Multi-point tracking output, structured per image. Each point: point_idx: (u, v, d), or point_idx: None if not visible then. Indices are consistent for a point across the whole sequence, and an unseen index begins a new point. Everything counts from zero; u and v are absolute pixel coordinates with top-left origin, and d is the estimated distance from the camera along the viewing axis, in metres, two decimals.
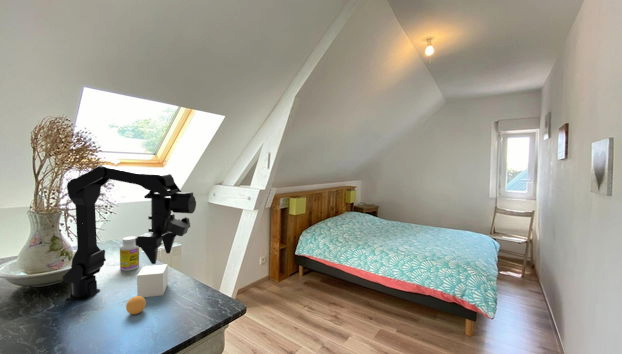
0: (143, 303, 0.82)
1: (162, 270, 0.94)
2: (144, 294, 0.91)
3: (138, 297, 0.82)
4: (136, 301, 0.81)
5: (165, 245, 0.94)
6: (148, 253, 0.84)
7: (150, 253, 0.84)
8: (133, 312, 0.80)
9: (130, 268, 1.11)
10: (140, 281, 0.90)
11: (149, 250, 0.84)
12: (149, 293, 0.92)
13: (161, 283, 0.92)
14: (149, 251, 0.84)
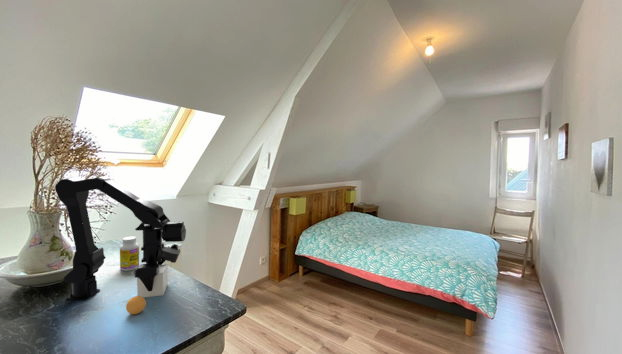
0: (143, 303, 0.82)
1: (162, 270, 0.94)
2: (144, 294, 0.91)
3: (138, 297, 0.82)
4: (136, 301, 0.81)
5: None
6: (145, 282, 0.90)
7: (147, 281, 0.90)
8: (133, 312, 0.80)
9: (130, 268, 1.11)
10: (140, 281, 0.90)
11: (146, 279, 0.90)
12: (149, 293, 0.92)
13: (161, 283, 0.92)
14: (146, 280, 0.90)
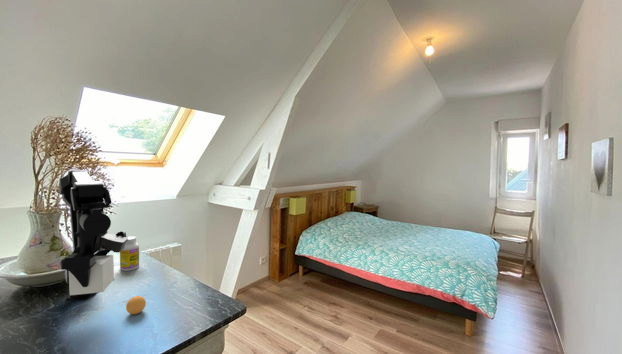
0: (143, 303, 0.82)
1: (103, 261, 0.77)
2: (79, 291, 0.74)
3: (138, 297, 0.82)
4: (136, 301, 0.81)
5: None
6: (78, 275, 0.73)
7: (81, 275, 0.73)
8: (133, 312, 0.80)
9: (130, 268, 1.11)
10: (73, 275, 0.73)
11: (79, 272, 0.73)
12: (85, 289, 0.75)
13: (100, 277, 0.76)
14: (79, 273, 0.73)
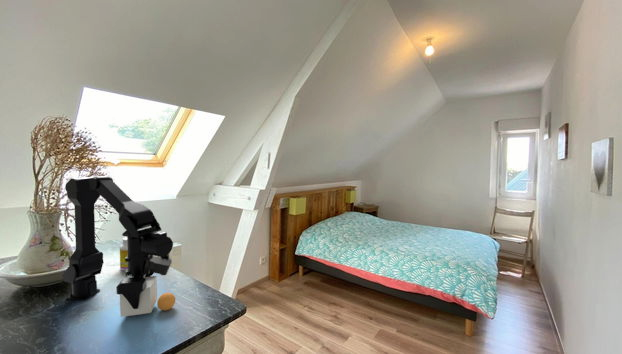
0: None
1: (149, 283, 0.81)
2: (129, 312, 0.78)
3: None
4: None
5: None
6: (130, 298, 0.77)
7: (132, 298, 0.77)
8: (165, 302, 0.82)
9: None
10: (123, 297, 0.78)
11: (131, 295, 0.77)
12: (134, 311, 0.79)
13: (148, 299, 0.79)
14: (131, 296, 0.77)
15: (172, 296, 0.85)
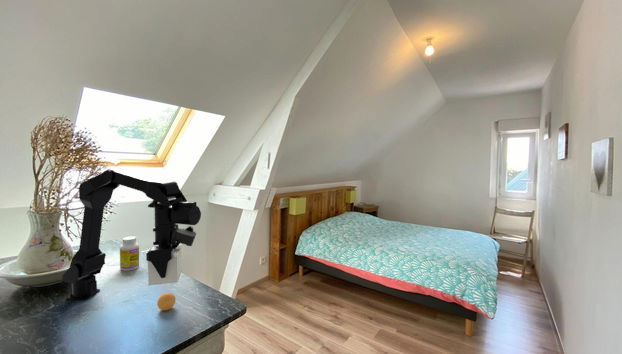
0: (157, 304, 0.83)
1: (176, 254, 0.83)
2: (156, 281, 0.80)
3: None
4: (162, 309, 0.83)
5: None
6: (158, 267, 0.78)
7: (160, 267, 0.78)
8: (165, 302, 0.82)
9: (130, 268, 1.11)
10: (151, 266, 0.79)
11: (159, 263, 0.78)
12: (162, 280, 0.80)
13: (175, 268, 0.81)
14: (159, 265, 0.78)
15: (172, 296, 0.85)
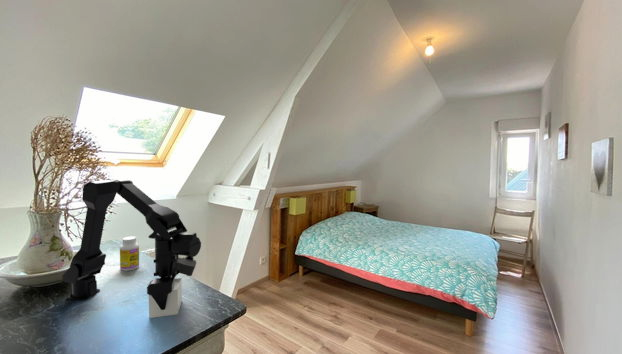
0: None
1: (176, 286, 0.84)
2: (157, 314, 0.81)
3: None
4: None
5: None
6: (158, 299, 0.78)
7: (160, 299, 0.79)
8: None
9: (130, 268, 1.11)
10: (152, 299, 0.80)
11: (159, 296, 0.78)
12: (162, 312, 0.81)
13: (175, 301, 0.82)
14: (159, 297, 0.78)
15: None
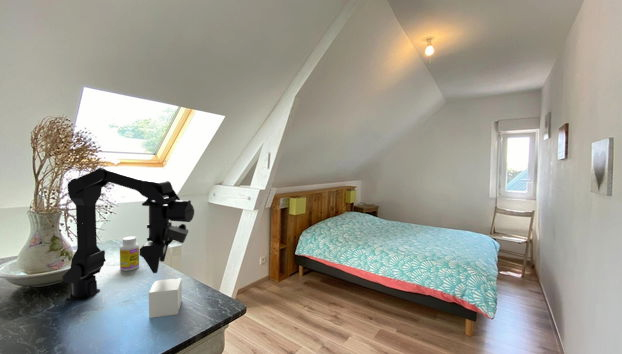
0: None
1: (176, 286, 0.84)
2: (157, 314, 0.81)
3: None
4: None
5: None
6: (150, 262, 0.82)
7: (152, 262, 0.82)
8: None
9: (130, 268, 1.11)
10: (152, 299, 0.80)
11: (151, 259, 0.82)
12: (162, 312, 0.81)
13: (175, 301, 0.82)
14: (151, 260, 0.82)
15: None
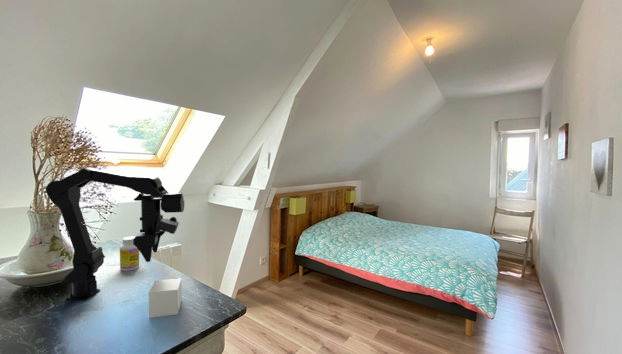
0: None
1: (176, 286, 0.84)
2: (157, 314, 0.81)
3: None
4: None
5: None
6: (143, 252, 0.89)
7: (145, 251, 0.90)
8: None
9: (130, 268, 1.11)
10: (152, 299, 0.80)
11: (144, 249, 0.89)
12: (162, 312, 0.81)
13: (175, 301, 0.82)
14: (144, 250, 0.89)
15: None
